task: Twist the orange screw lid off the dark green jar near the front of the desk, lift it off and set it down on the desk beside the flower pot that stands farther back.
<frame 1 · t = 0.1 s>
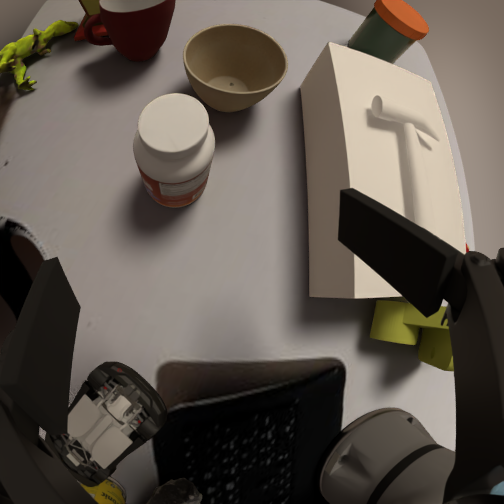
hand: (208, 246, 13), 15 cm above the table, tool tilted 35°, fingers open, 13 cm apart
dinosaur figurine: (12, 101, 25), on the table
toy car: (91, 436, 20), point 4 cm above the table
bracket: (454, 340, 26), point 6 cm above the table, touching flashlight 2
light fixture: (106, 21, 28), on the table
hammer relief block: (362, 185, 33), on the table
flower pot: (225, 96, 31), on the table
lid: (404, 13, 26), point 11 cm above the table, screwed on, not yet turned
jar: (369, 53, 37), on the table
mug: (132, 54, 29), on the table
pill bottle: (176, 179, 28), on the table
supplement bottle: (104, 487, 22), on the table
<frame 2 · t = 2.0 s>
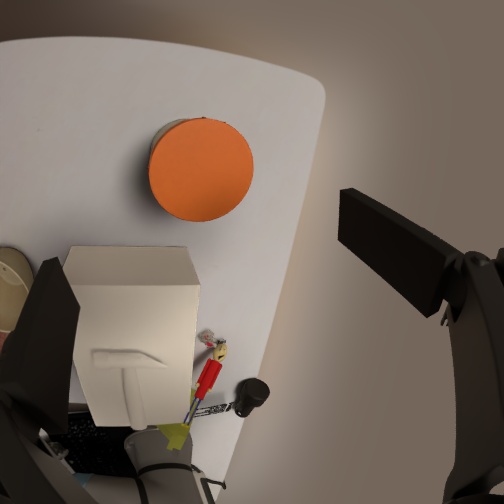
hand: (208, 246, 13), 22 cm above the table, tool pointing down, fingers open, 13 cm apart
flashlight 2: (224, 410, 54), point 1 cm above the table, touching bracket
rock: (68, 469, 43), point 5 cm above the table
figurine: (180, 424, 40), point 8 cm above the table, touching figurine 2, hammer relief block
figurine 2: (209, 333, 44), on the table, touching figurine
bracket: (191, 424, 44), point 6 cm above the table, touching flashlight 2
hammer relief block: (131, 326, 39), on the table, touching figurine
flower pot: (14, 266, 29), on the table
lid: (201, 170, 22), point 11 cm above the table, screwed on, not yet turned
jar: (183, 152, 31), on the table
speaker: (187, 475, 67), on the table
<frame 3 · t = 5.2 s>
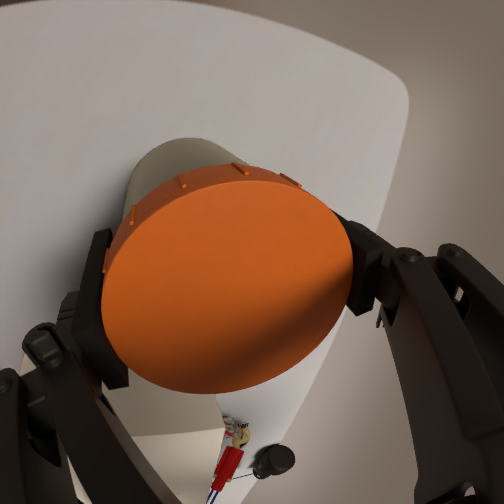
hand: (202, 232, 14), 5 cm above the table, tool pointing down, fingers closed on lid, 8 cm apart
flashlight 2: (240, 471, 42), point 1 cm above the table, touching bracket
figurine 2: (228, 417, 32), on the table, touching figurine
hammer relief block: (126, 418, 26), on the table
lid: (235, 306, 9), point 11 cm above the table, screwed on, not yet turned, touching gripper
jar: (187, 198, 18), on the table
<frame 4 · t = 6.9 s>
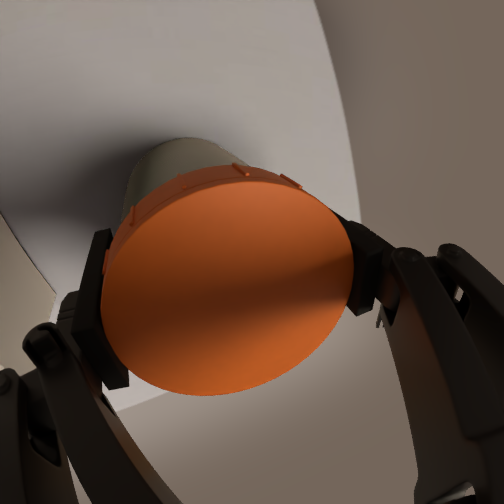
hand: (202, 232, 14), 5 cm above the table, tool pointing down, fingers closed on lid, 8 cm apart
lid: (236, 308, 9), point 11 cm above the table, turned 60° so far, risen 0.2 cm, still on its thread, touching gripper
jar: (186, 197, 18), on the table
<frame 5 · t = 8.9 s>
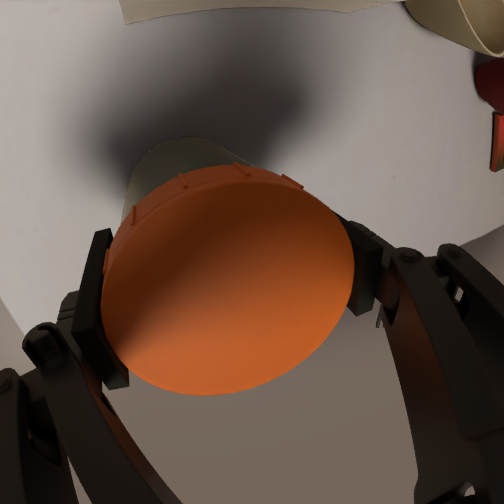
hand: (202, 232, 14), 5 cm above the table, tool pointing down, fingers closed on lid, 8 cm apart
light fixture: (502, 139, 27), on the table
flower pot: (418, 1, 15), on the table
lid: (236, 308, 9), point 11 cm above the table, off its thread, touching gripper
jar: (186, 196, 18), on the table
mug: (485, 79, 21), on the table
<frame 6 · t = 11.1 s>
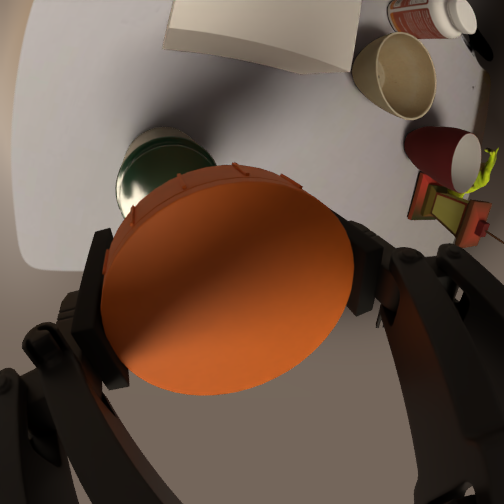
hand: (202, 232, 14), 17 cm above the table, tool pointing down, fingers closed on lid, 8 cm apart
dinosaur figurine: (470, 137, 41), on the table
light fixture: (426, 196, 42), on the table
flower pot: (366, 73, 30), on the table
lid: (236, 308, 9), point 23 cm above the table, off its thread, touching gripper
jar: (161, 164, 28), on the table
mug: (416, 143, 37), on the table
pill bottle: (400, 19, 27), on the table
when the fingers open (2 cm above the table, at t = 17.3 s): lid drops 6 cm, point 1 cm above the table.
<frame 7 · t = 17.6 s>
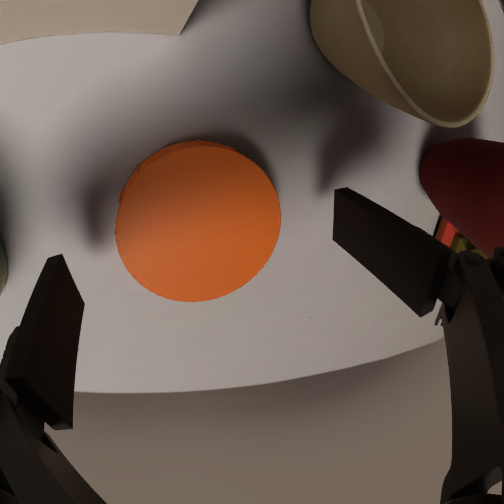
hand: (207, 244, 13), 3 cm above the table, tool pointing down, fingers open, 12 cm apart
light fixture: (446, 249, 26), on the table
flower pot: (345, 30, 13), on the table
lid: (200, 228, 15), point 1 cm above the table, off its thread
mug: (440, 166, 20), on the table
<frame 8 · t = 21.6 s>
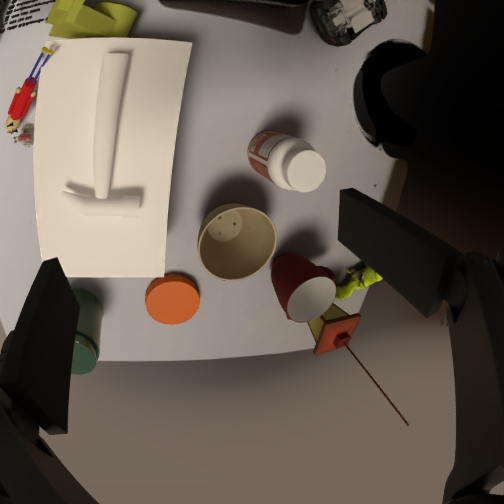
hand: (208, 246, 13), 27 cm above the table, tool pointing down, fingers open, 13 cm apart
figurine: (61, 25, 17), point 8 cm above the table, touching figurine 2, hammer relief block
dinosaur figurine: (370, 233, 53), on the table
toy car: (360, 9, 28), point 4 cm above the table, touching supplement bottle
figurine 2: (25, 135, 27), on the table, touching figurine
bracket: (54, 2, 16), point 6 cm above the table, touching flashlight 2
light fixture: (307, 297, 55), on the table
hammer relief block: (110, 150, 32), on the table, touching figurine
flower pot: (223, 222, 42), on the table
lid: (172, 302, 44), point 1 cm above the table, off its thread
jar: (79, 308, 41), on the table
mug: (289, 262, 50), on the table
pill bottle: (267, 152, 39), on the table
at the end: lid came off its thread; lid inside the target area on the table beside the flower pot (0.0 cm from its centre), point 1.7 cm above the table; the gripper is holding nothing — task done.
